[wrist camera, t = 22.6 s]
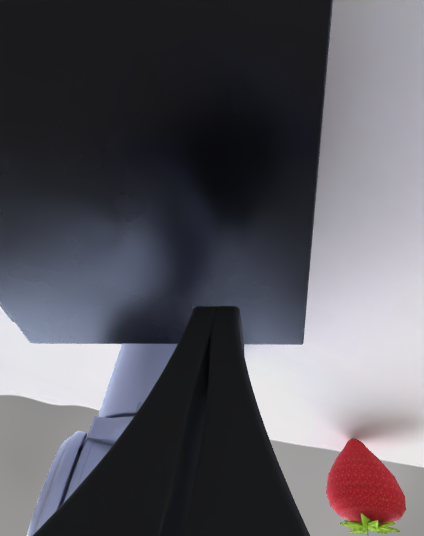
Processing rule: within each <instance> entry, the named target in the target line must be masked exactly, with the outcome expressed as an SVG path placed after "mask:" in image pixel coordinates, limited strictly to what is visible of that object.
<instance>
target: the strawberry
mask: <svg viewBox="0 0 424 536" xmlns="http://www.w3.org/2000/svg"><path fill="white" fill-rule="evenodd" d="M326 494H327V497H328V500H329V503H330V506H331V507H332V508H333V509H334V510H335V512H336V513H337V514H338V515H339V516H341V517H343V518H346V519H348V520H351V521H347V520H345V522H346V523H340V524H342V525H345V526H347V527H349V528H352V529H354V530H353V531H351V532H350V533H351V534H353V533H366V530H367V536H368V528H369V530H370V531H375V532H381V533H387V532H400V530H398V529H394V528H390V527H388V526H390V525H393V524H395V523H394V522H393V521H397V520H399V519H400V518H401V517H402V515H403V514H404V512H405V510H406V507H405V496H404V494H403V492H402V490H401V488H400V486H399V484H398V483H397V481H396V479H395V477H394V476H393V475H392V473H391V472H390V471H389V470H388V469H387V468H386V467H385V466H384V464H383V463H382V462H381V461H380V460H379V459H378V458H377V457H376V456H375V455H374V454H373V453H372V452H371V451H369V450H368V449H367V448H366V447H365V445H364V444H363V443H362V442H361V441H359V440H357V439H351V440H349V441H348V442H347V444H346V446H345V447H344V449H343V450H342V452H341V453H340V454H339V456H338V457H337V458H336V461H335V463H334V464H333V466H332V468H331V470H330V472H329V475H328V482H327V490H326Z"/></svg>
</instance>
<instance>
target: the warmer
mask: <svg viewBox="0 0 424 536" xmlns="http://www.w3.org/2000/svg"><path fill="white" fill-rule="evenodd" d="M332 3H333V0H0V303H1V304H2V306H3V307H4V308H5V310H6V311H7V312H8V314H9V315H10V316H11V318H12V319H13V320H14V322H15V323H16V324H17V326H18V327H19V328H20V330H21V331H22V332H23V334H24V335H25V336H26V338H27V339H28V340H29V342H30V343H76V344H178V342H179V340H180V338H181V336H182V334H183V332H184V330H185V328H186V326H187V324H188V321H189V319H190V317H191V314H192V312H193V309H194V308H195V307H197V306H236V307H238V308H239V309H240V316H241V324H242V331H243V339H244V344H297V345H301V344H303V340H304V328H305V317H306V305H307V293H308V282H309V270H310V259H311V247H312V235H313V224H314V212H315V201H316V189H317V177H318V166H319V154H320V142H321V131H322V119H323V108H324V96H325V84H326V73H327V61H328V50H329V38H330V26H331V15H332Z"/></svg>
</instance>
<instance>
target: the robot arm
mask: <svg viewBox="0 0 424 536" xmlns="http://www.w3.org/2000/svg"><path fill="white" fill-rule="evenodd" d="M86 438H87V439H86ZM27 536H310V534H309V532H308V530H307V528H306V526H305V524H304V521H303V519H302V517H301V515H300V513H299V510H298V508H297V506H296V504H295V502H294V499H293V497H292V494H291V492H290V490H289V487H288V485H287V482H286V480H285V478H284V475H283V473H282V471H281V468H280V466H279V463H278V461H277V458H276V456H275V453H274V451H273V448H272V445H271V443H270V440H269V437H268V435H267V432H266V429H265V426H264V424H263V421H262V418H261V415H260V412H259V409H258V406H257V402H256V399H255V396H254V393H253V389H252V386H251V382H250V379H249V375H248V371H247V367H246V362H245V358H244V339H243V331H242V324H241V316H240V309H239V308H238V307H236V306H197V307H195V308H194V309H193V312H192V314H191V317H190V319H189V321H188V324H187V326H186V328H185V330H184V332H183V334H182V336H181V338H180V340H179V342H178V344H122V346H121V349H120V352H119V355H118V358H117V361H116V364H115V367H114V370H113V373H112V376H111V379H110V382H109V385H108V388H107V391H106V394H105V397H104V400H103V403H102V406H101V409H100V412H99V415H98V416H95V417H94V419H93V422H92V425H91V428H90V430H89V433H88V436H87V433H86V432H82V431H77V432H75V433H74V435H73V436H71V437H69V438H68V439H66V440H65V441H64V442H63V443H62V445H61V447H60V448H59V450H58V452H57V454H56V456H55V458H54V461H53V463H52V466H51V468H50V470H49V472H48V475H47V477H46V480H45V483H44V485H43V488H42V491H41V494H40V496H39V499H38V502H37V505H36V508H35V511H34V514H33V517H32V520H31V523H30V527H29V530H28V534H27Z"/></svg>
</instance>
